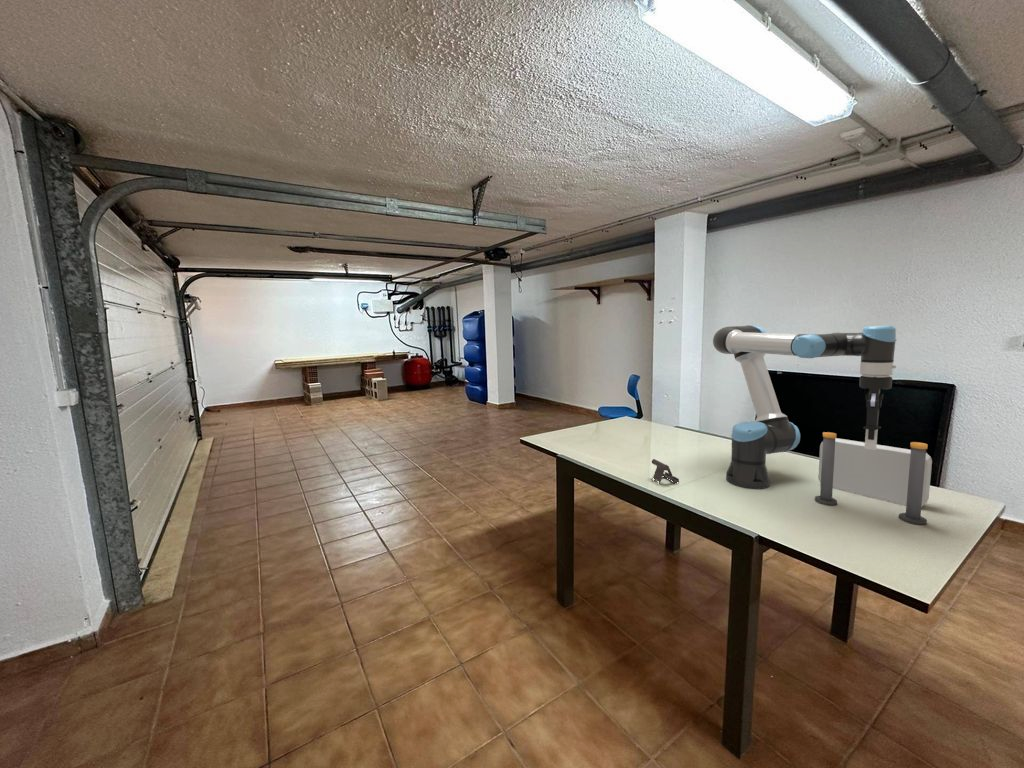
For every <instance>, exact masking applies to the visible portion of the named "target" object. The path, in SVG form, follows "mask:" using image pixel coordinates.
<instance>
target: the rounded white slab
mask: <svg viewBox="0 0 1024 768" xmlns="http://www.w3.org/2000/svg"><path fill="white" fill-rule="evenodd" d="M822 453H823V441H821V443H820V445H819V456H818V457H819V459H818V461H819V462H818V477H817V478H818V482H819V483H820V484H821V471H822ZM910 454H911V449H908V448H901V447H896V446H895V447H894V446H889V445H881V444H877V446H876V450H871V449H865V441H857V440H850V439H844V438H837V437H836V438H835V455H834V473H833V489H834V490H839V491H842V492H843V491H844V492H848V493H852V494H856V495H861V496H864V497H868V498H872V499H877V500H881V501H884V502H885V501H886V502H889V503H893V504H897V505H902V506H905V507H906V503H907V491H908V478H909V466H910ZM932 464H933V459H932V457H931V456H930V455H929V454H928V452H926V459H925V471H924V482H923V494H922V505H921V507H924V506H925V504H927V502H928V500H929V498H930V486H931V478H932V477H931V476H932Z"/></svg>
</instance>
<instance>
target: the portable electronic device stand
mask: <svg viewBox="0 0 1024 768" xmlns="http://www.w3.org/2000/svg"><path fill="white" fill-rule="evenodd" d="M651 464H652V465H654V466H656V469H655V472H654V474H653V476H652V479H653V478H654V479H655V481H656V482H657V481H659V482H660V483H661V481H662V479H663V478H664V477H666V478H668V479H670V480H672V481H673V482H674V483H673V482H672V483H673V484H675V483H677V482H679V483H680V480H679V478H678V477H676V476H674V475H673V473H672V472H671V469H670V466H669V465H667V464H666V463H663V462H661V461H659V460H657V459H655V458H653V459H652V460H651ZM662 476H664V477H662ZM666 478H665V479H666ZM668 479H667V480H668ZM670 480H669V481H670Z"/></svg>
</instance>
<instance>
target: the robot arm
mask: <svg viewBox="0 0 1024 768" xmlns="http://www.w3.org/2000/svg"><path fill="white" fill-rule="evenodd" d="M896 330H897V329H896V327H894V326H893V325H873V326H871V325H870V326H869V325H868V326H865V327H863V328H862V331H861V332H831V333H829V332H828V333H825V334H824V333H818V334H817V333H816V334H815V333H814V334H813V333H812V334H810V333H783V332H782V333H778V332H777V333H776V332H774V333H773V332H766V330H765V329H764V328H762V327H760V326H757V325H742V326H741V325H736V326H734V325H733V326H724V327H722V328H720V329H719V330H717V331H716V332H715V333H714V335H713V338H712V345H713V347H714V349H716V351H717V352H719V353H720V354H725V355H733V357H734V359H735V361H736V362H738V363H740V365H741V368H742V372H743V375H744V378H745V379H744V380H745V382H746V385H747V388H748V392H749V395H750V399H751V402H752V405H753V409H754V412H755V415H756V418H755V420H754V421H752V420H751V421H741V422H738V423H735V424H734V425H733V427H732V430H731V460H730V464H729V466H728V467H727V468H728V469H727V471H726V472H725V480H726V482H728V483H730V484H731V485H734V486H738V487H740V488H741V487H742V488H746V489H747V488H748V489H765V488H769V487H770V486H771V477H770V474H769V471H768V468H767V465H766V464H767V463H766V462H767V455H771V454H777V453H778V454H779V453H785V452H786V453H787V452H788V451H792V450H794V449H795V448H797V447H798V445H799V444H800V441H801V432H800V429H799V427H798V426H797V425H795V424H794V423H793V422H791V421H789V418H788V415H786V414H785V413H783V412H782V411H781V408H780V405H779V401H778V398H777V395H776V392H775V389H774V386H773V383H772V380H771V376H770V374H769V370H768V368H767V364H766V361H765V355H766V354H767V355H781V356H793V357H798V358H799V359H815V358H823V357H825V358H827V357H839V356H840V357H842V356H843V357H844V356H846V357H849V356H851V357H852V356H853V357H860V365H859V366H860V368H859V374H860V375H861V376H859V383H858V384H859V385H858V386H859V388H861V389H868V392H867V393H866V394H865V408H866V425H865V426H863V428H862V429H863V430H865V434H864V435H865V437H864V443H865V449H871V450H876V446H877V445H878V431H879V430H881V428H882V427H881V426H879V416H880V409H881V407H882V402H883V399H884V393H881V390H890V389H892V386H893V377H892V375H893V374H894V373H893V371H894V369H896V368H897V366H896V364H895V365H894V359H895V348H896V342H897V339H896V337H897V336H896V335H897V334H896Z"/></svg>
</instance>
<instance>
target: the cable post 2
mask: <svg viewBox="0 0 1024 768" xmlns="http://www.w3.org/2000/svg"><path fill="white" fill-rule="evenodd" d="M928 446H929V445H928V444H927V443H924V442H919V441H918V442H917V441H911V442H910V446H909V447H910V450H911V454H910V466H909V478H908V491H907V503H906V506H905V512H902V513H901V512H900V513H899V514H898V519H900V520H901V521H903V522H905V523H908V524H912V525H916V526H917V525H918V526H925V525H927V524H928V520H927V518H926V517H923V516H922V506H921V505H922V494H923V482H924V471H925V459H926V453H927V450H928Z"/></svg>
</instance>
